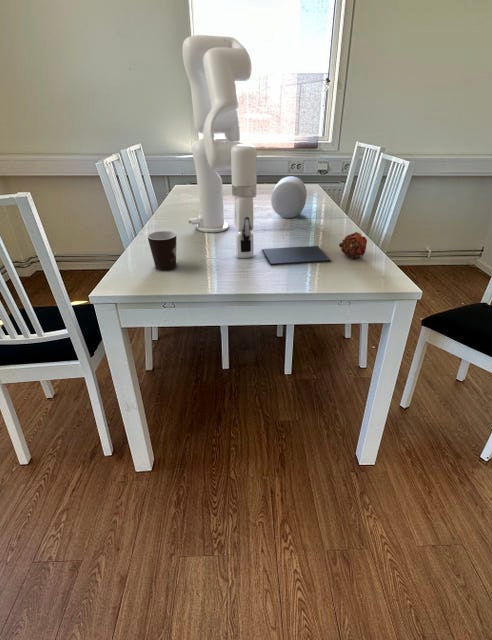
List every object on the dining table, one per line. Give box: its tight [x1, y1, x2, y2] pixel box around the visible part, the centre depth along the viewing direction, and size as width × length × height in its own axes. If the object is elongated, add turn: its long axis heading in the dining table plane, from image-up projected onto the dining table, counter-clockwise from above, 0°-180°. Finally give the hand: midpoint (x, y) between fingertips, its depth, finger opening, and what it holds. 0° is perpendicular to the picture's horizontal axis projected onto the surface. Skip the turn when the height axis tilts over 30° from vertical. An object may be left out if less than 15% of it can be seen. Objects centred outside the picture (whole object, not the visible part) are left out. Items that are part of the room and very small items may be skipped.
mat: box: [262, 245, 331, 266], centre depth 133 cm, size 20×14×1 cm
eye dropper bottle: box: [235, 228, 254, 259], centre depth 129 cm, size 4×6×12 cm
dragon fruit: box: [338, 231, 368, 260], centre depth 131 cm, size 8×8×12 cm
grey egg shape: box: [268, 175, 308, 219], centre depth 175 cm, size 19×15×25 cm
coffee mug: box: [146, 230, 177, 272], centre depth 122 cm, size 12×9×10 cm
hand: (244, 248), depth 131 cm, fingers closed on eye dropper bottle, 3 cm apart
